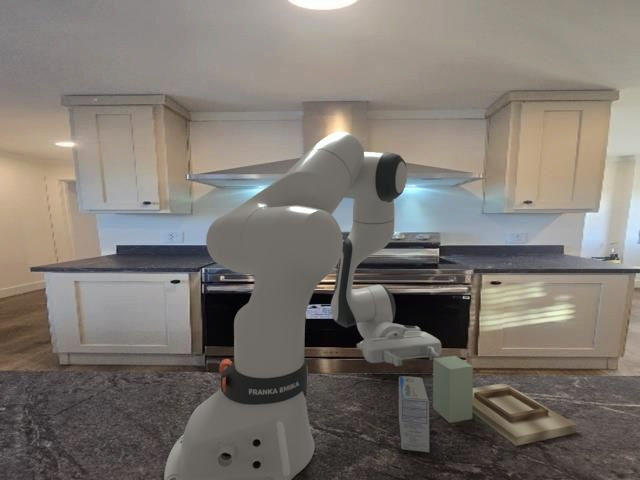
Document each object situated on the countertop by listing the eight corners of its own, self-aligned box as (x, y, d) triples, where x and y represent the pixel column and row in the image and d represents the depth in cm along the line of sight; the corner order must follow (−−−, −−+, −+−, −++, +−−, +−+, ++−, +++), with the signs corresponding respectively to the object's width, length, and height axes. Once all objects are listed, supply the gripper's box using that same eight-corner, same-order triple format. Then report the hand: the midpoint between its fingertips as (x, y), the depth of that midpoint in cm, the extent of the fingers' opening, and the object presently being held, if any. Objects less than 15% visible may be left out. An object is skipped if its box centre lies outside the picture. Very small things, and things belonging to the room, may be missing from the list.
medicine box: (429, 454, 48) (430, 400, 48) (400, 450, 49) (400, 397, 49) (423, 423, 56) (423, 377, 56) (398, 420, 57) (398, 374, 57)
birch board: (515, 445, 50) (516, 430, 50) (454, 397, 65) (454, 386, 65) (575, 432, 53) (576, 418, 53) (504, 389, 68) (504, 378, 68)
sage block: (449, 423, 56) (449, 369, 56) (432, 407, 61) (433, 358, 61) (472, 418, 58) (472, 366, 57) (454, 404, 62) (454, 355, 62)
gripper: (354, 331, 81) (376, 351, 68) (422, 325, 86) (455, 343, 73) (354, 355, 81) (376, 379, 68) (422, 347, 87) (455, 369, 73)
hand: (418, 360), depth 71 cm, fingers open, 8 cm apart
